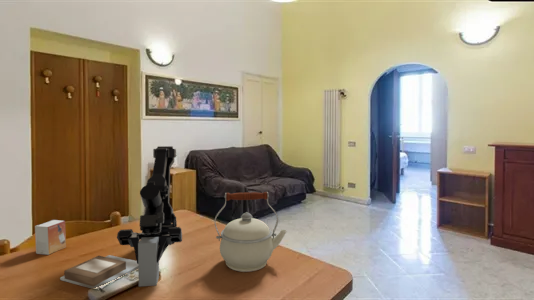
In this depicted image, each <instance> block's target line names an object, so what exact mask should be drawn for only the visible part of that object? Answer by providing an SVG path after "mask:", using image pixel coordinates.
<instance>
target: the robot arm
mask: <svg viewBox="0 0 534 300" xmlns="http://www.w3.org/2000/svg"><path fill="white" fill-rule="evenodd" d="M152 152H153V154H152V157H153V158H154V163H153V170H152V175H151V177H149V178H148V179H147V182H146V185H145V186H143V187H142V188H141V189H140V190H139V196H140V198H141V200H142V204H143V207H144V214H143V215H140V216H139V230H140V231H141V232H136V231H135V232H134V231H133V228H128V229H120V230H118V232H117V234H116V239H117V241H118V243H119V245H120V246H130V248H133V249H134V254H135V261H137V264H138V243H139V241H140V240H141V238H144V237H159V249H158V254H157V263H158V262H159V263H160V260H161V258H162V256H163V254H164V253H165V251H166V249H168V247H169V246H171V245H172V244H173V243H181V242H182V241H183V231H182V228H181V227H180V226H177V225H178V224H177V216H176V214H175V213H174V209H173V207H172V205H171V204H170V195H171V194H170V188H171V187H170V186H171V167H172V166H173V165H174V163H175V158H177V148H174V146H172V145H171V146H164V145H163V146H161V145H158V146H157V148H153V150H152Z"/></svg>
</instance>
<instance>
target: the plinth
mask: <svg viewBox="0 0 534 300" xmlns="http://www.w3.org/2000/svg"><path fill="white" fill-rule="evenodd" d="M136 270H138V264H137V260H136V259H135V260H134V259H130V258H124V257H120V256H116V255H115V256H114V255H112V254H111V255H110V254H109V255H106V256H102V255H96V256H94V257H92V258H90V259H87V260H85V261H83V262H81V263H79V264H77V265H74V266H72V267H70V268H68V269H65V270H64V275H63V276H61V277H59V279H60V281H63V282H67V283H70V284H73V285H78V286H81V287H85V288H89V289H92V288H96V287H99V286H101V285H104V284H106V283H108V282H110V281H112V280H115V279H117V278H118V277H121V276H123V275H125V274H126V273H129V272H131V271H133V272H134V271H136ZM131 273H132V272H131ZM129 274H130V273H129ZM125 276H126V275H125ZM92 290H93V289H92Z"/></svg>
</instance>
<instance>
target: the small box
mask: <svg viewBox="0 0 534 300" xmlns="http://www.w3.org/2000/svg"><path fill="white" fill-rule="evenodd" d="M34 233H35V234H34V235H35V254H37V255H46V256H49V255H52V254H54V253H56V252H58V251H61V250H63V249H64V248H67V243H66V242H67V241H66V239H67V237H66V220H58V219H51V220H49V221H47V222H43V223H41V224H37V225H35V226H34Z"/></svg>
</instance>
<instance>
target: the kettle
mask: <svg viewBox="0 0 534 300" xmlns="http://www.w3.org/2000/svg"><path fill="white" fill-rule="evenodd" d="M269 197H270V195H269V192H268V191H264V192H253V191H251V192H249V191H248V192H235V193H230V192H225V195H224V197H223V198H224V200H225V201H224V204H223V206H222V207H221V209H219V211H218V212H217V213H216V215H215V216H214V227H215V229H216V232H217V234H218V235H217V236H216V237H215V239H218V242H220V244H219V253H220V256H221V257H222V259H223V260H224V261H225V264H226V266H227V267H228V268H229V269H230V270H232V271H237V272H239V273H240V272H242V273H248V272H249V273H250V272H255V271H258V270H261V269H264V267H266V265H267V263H268V260H270V258H271V256H272V254H273V252H274V250H275V249H276V248H277V247H278V246H279V245H280V243H281V242H282V240H283V238H284V237H285V234H287V232H288V231H287V229H281V230H279V233H278V234H277V233H275V232H276V230H277V227H278V223H279V217H278V214H277V211H276V210H275V209H274V208H273V207H272V206H271V205H270V203H269ZM261 199H263V200H266V203H267V205H268V206H269V208H270V209H271V210H272V211H273V212H274V214H275V216H276V222H275V225H274V228H273V230H271V228H269V226H268V225H267V223H266V222H264V221H263V220H260V219H257V218H254V217H253V215H252V214H251V213H249V212H247V211H246V212H244V213H243V214H242V215H241V216H240V218H237V219H233V220H231V221H230V222H228V223H227V224H226V225H225V227H224V229H222V230H221V231H220V232H219V230H218V227H217V223H216V220H217V217H219V215H220V213H221V212H222V211H223V210H224V208H225V207H226V205H227V202H228V201H231V200H233V201H250V200H252V201H255V200H256V201H257V200H261ZM220 239H221V241H220Z"/></svg>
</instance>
